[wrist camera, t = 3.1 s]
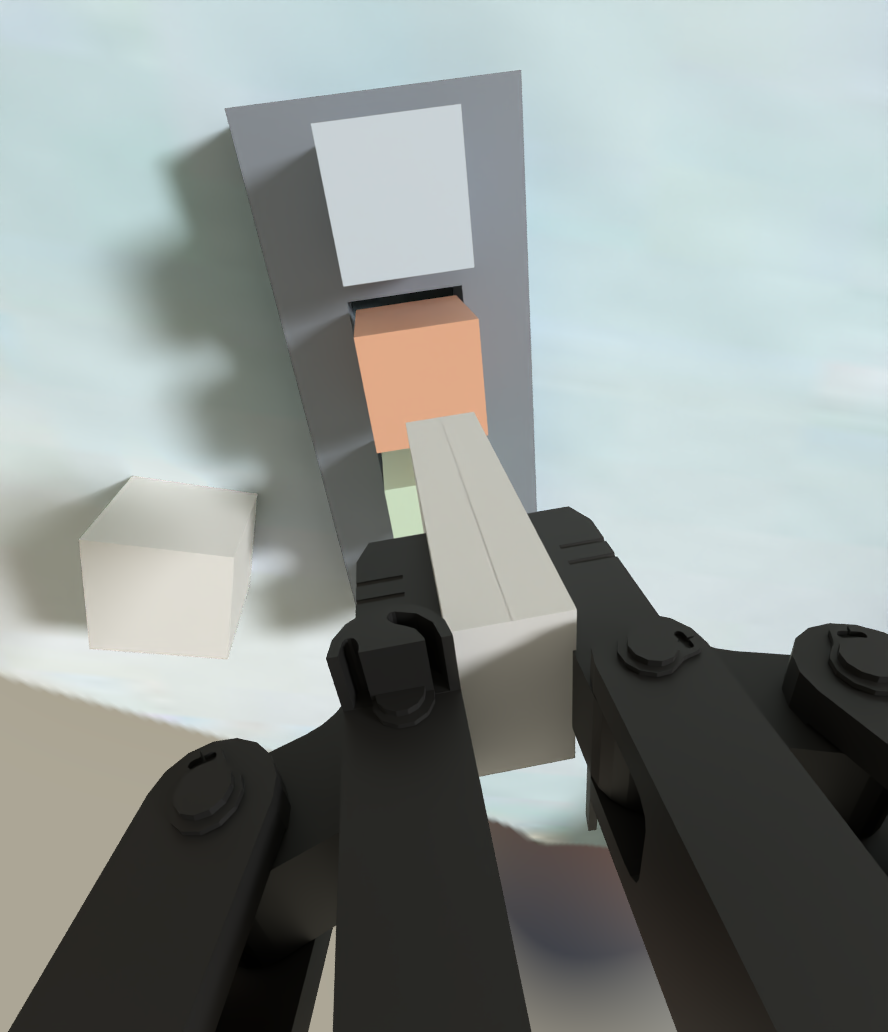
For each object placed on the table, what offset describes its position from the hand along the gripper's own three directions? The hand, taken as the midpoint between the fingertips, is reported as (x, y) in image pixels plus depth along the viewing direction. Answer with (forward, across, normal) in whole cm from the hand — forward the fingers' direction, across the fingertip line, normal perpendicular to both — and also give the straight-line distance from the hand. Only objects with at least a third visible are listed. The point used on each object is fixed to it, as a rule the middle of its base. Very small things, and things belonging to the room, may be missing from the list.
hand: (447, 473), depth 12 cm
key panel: (+15, 0, +3) cm, 15 cm away
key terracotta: (+12, 0, 0) cm, 12 cm away
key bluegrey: (+12, 0, -5) cm, 13 cm away
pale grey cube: (+15, +13, +9) cm, 22 cm away
